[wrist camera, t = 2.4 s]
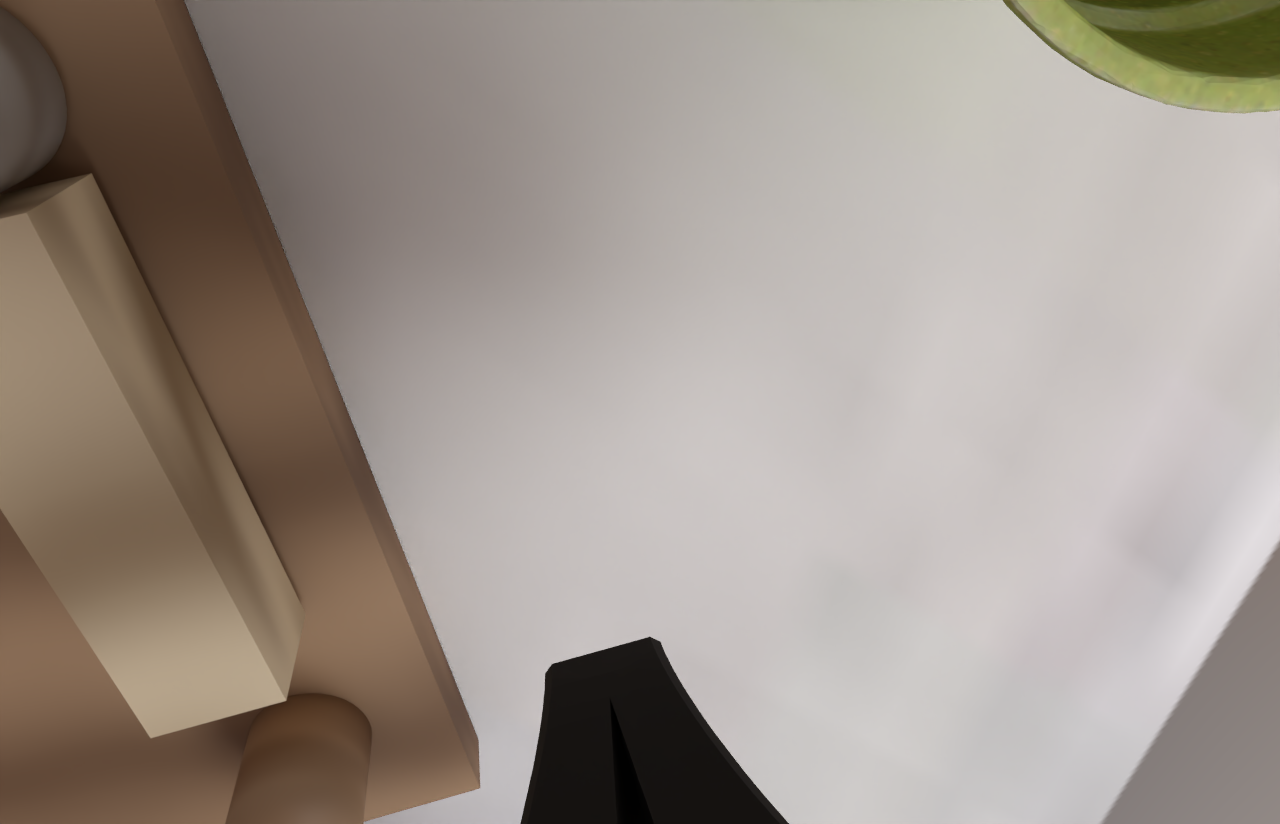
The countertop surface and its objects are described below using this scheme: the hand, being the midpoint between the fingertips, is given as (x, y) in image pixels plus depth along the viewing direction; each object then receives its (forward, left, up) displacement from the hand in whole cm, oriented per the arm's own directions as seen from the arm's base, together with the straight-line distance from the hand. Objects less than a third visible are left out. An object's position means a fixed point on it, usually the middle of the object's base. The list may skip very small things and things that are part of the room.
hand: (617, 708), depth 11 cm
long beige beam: (+3, +7, -7) cm, 11 cm away
